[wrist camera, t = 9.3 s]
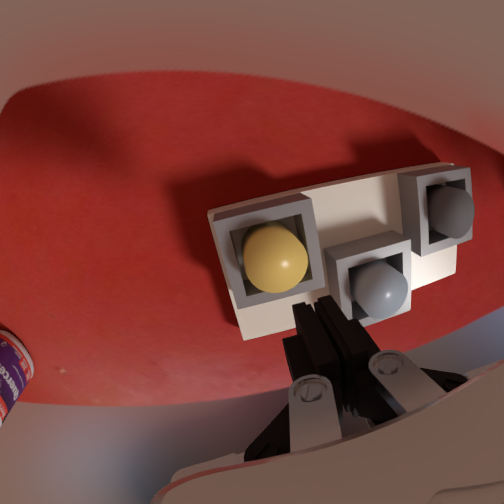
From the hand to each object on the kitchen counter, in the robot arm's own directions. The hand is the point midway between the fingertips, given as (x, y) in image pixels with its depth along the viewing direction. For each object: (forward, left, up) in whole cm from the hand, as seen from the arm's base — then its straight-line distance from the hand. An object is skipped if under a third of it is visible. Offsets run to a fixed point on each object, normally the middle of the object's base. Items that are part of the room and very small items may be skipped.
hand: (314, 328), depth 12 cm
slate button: (-8, +5, -12) cm, 15 cm away
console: (-8, +2, -14) cm, 17 cm away
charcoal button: (-16, 0, -12) cm, 20 cm away
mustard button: (0, 0, -12) cm, 12 cm away
